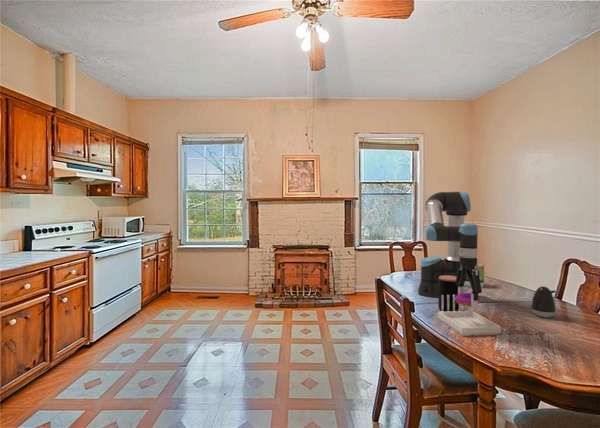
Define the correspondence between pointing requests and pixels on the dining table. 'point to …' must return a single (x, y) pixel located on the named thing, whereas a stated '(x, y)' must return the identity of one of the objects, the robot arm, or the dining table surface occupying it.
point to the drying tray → (469, 323)
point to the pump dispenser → (543, 302)
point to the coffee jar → (448, 291)
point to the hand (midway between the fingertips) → (467, 303)
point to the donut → (464, 299)
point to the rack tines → (448, 304)
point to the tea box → (481, 274)
